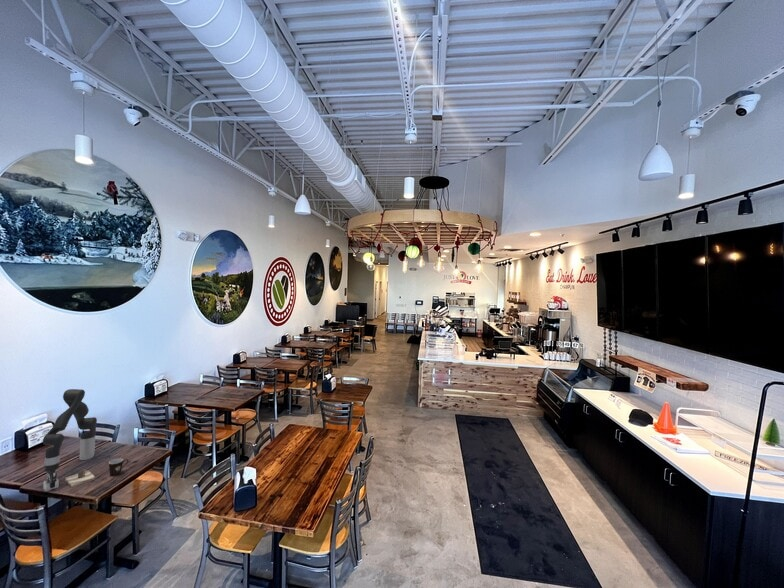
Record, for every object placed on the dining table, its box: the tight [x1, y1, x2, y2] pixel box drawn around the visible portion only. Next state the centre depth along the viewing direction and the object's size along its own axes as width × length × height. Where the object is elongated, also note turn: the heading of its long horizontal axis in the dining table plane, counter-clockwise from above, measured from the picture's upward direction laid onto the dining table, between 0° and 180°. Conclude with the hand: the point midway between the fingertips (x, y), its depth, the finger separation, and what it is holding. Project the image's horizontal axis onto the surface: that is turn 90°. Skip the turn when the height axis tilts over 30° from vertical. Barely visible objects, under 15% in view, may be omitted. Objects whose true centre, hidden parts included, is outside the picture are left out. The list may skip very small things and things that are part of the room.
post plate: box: [64, 468, 96, 488], centre depth 243 cm, size 16×13×6 cm
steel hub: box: [42, 478, 60, 492], centre depth 231 cm, size 6×6×5 cm
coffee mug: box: [108, 458, 129, 478], centre depth 252 cm, size 12×9×10 cm
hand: (50, 485), depth 231 cm, fingers open, 8 cm apart
